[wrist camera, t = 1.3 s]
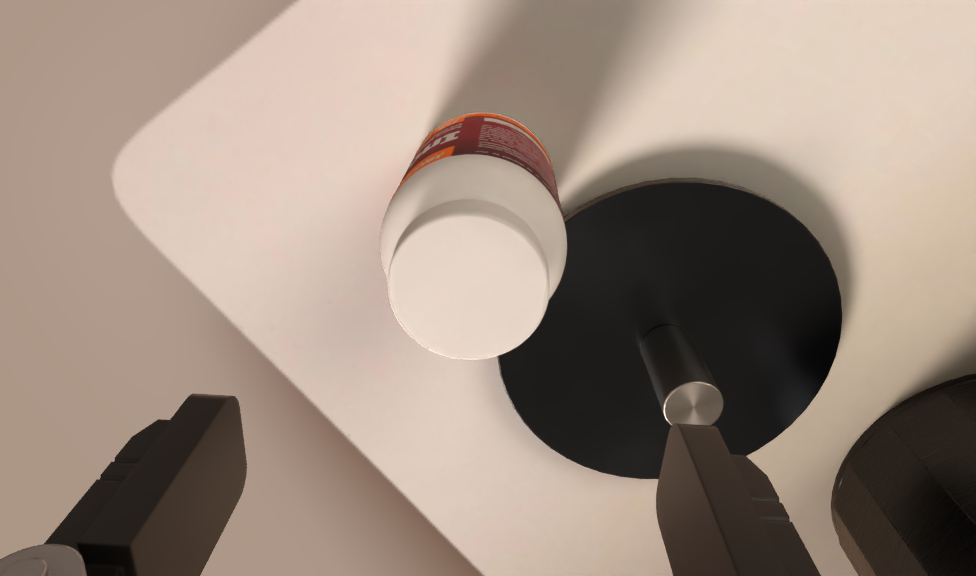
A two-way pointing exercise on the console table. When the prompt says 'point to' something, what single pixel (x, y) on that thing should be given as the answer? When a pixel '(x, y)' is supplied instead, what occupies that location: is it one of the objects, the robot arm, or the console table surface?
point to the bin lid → (676, 326)
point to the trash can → (913, 488)
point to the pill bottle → (474, 238)
